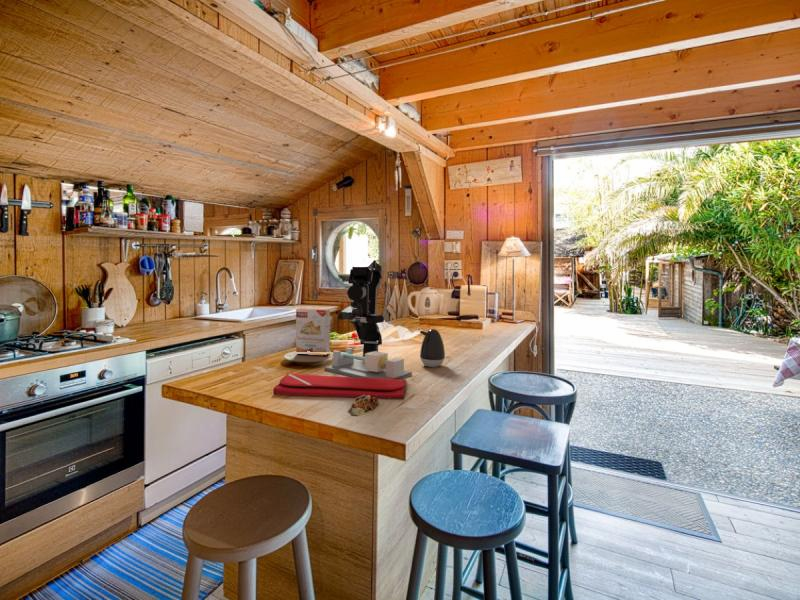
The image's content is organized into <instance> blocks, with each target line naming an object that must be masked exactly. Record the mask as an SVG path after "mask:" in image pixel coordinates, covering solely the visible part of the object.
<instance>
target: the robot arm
mask: <svg viewBox="0 0 800 600" xmlns="http://www.w3.org/2000/svg"><path fill="white" fill-rule="evenodd" d="M383 275H384V273H383V268H382V266H381V265H380V264H379V263H378V262H377V260H376V259H375V258H365V259H363V261H362V262H361V264H359V265H357V264H356V265H353V266H352V267H351V268H350V271H349V275H348V276H349V277H348V278H349V279H348V282H347V283H348V285H349V284H350V285H351V286H349V288H348V289H347V291H346V292H347V297H348V298H349V299H350V300H351V301H350V305H349V306H347V307H345V308H344V309H343V310H341V311H340V312H339V313H338V319H339V320H348V322H349V323H350V324H352V325H353V326H354V328H355V329H354V330H355V332H356V334H357V335H356V336H357V338H358V340H359V342H360V345H363V349H362V356H363V357H365V353H370V352H374V351H378V352H379V346H380V345H383V337H382V334H381V331H380V327H379V325H378V324H379V323H384V322H385V317H384V316H383V314H379V313H377V303H378V302H377V300H378V299H377V298H378V288H379V287H380V285H381V283H382V279H383Z"/></svg>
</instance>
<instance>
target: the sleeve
mask: <svg viewBox="0 0 800 600" xmlns="http://www.w3.org/2000/svg"><path fill="white" fill-rule="evenodd" d="M382 357H385V358H387V359H388V358H389V357H388V352H384V351H383V352H382V351H379V350H378V351H374V352H370V353H365V361H364V362H365V370H369V371H374V372H379V371H383V370H386V368H385V369H383V368H380V366H379V362H380V359H381V358H382ZM388 360H389V359H388Z"/></svg>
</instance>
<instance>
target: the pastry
mask: <svg viewBox="0 0 800 600" xmlns="http://www.w3.org/2000/svg"><path fill="white" fill-rule="evenodd" d="M363 398H364V399H363ZM379 403H380V401H379V398H376V397H373V398H371V397H370V395H368V396H366V395H362V396H360V397H357V398H355V399H354V402H353V403H352V404H351V406H350V408H348V410H347V411H348V414H350V415H349V416H357V417H358V415H359V416H360V415H361V416H363V415H365V412H366V411H368V410H369V409H371V411H374V410H376V408H377V404H379Z"/></svg>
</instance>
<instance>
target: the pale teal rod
mask: <svg viewBox="0 0 800 600" xmlns="http://www.w3.org/2000/svg"><path fill="white" fill-rule="evenodd" d="M340 354H344V357H347V358H352V359H354V360H357V361H362V362H365V357H363V355H362V356H361V355H357V354H354V353H353V354H348V353H346V352H345V353H343V351H340ZM386 360H389V359H387V358H385V357H382V358H381V359H380V362H379V366H380V368H383V369H385V368H386Z"/></svg>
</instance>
